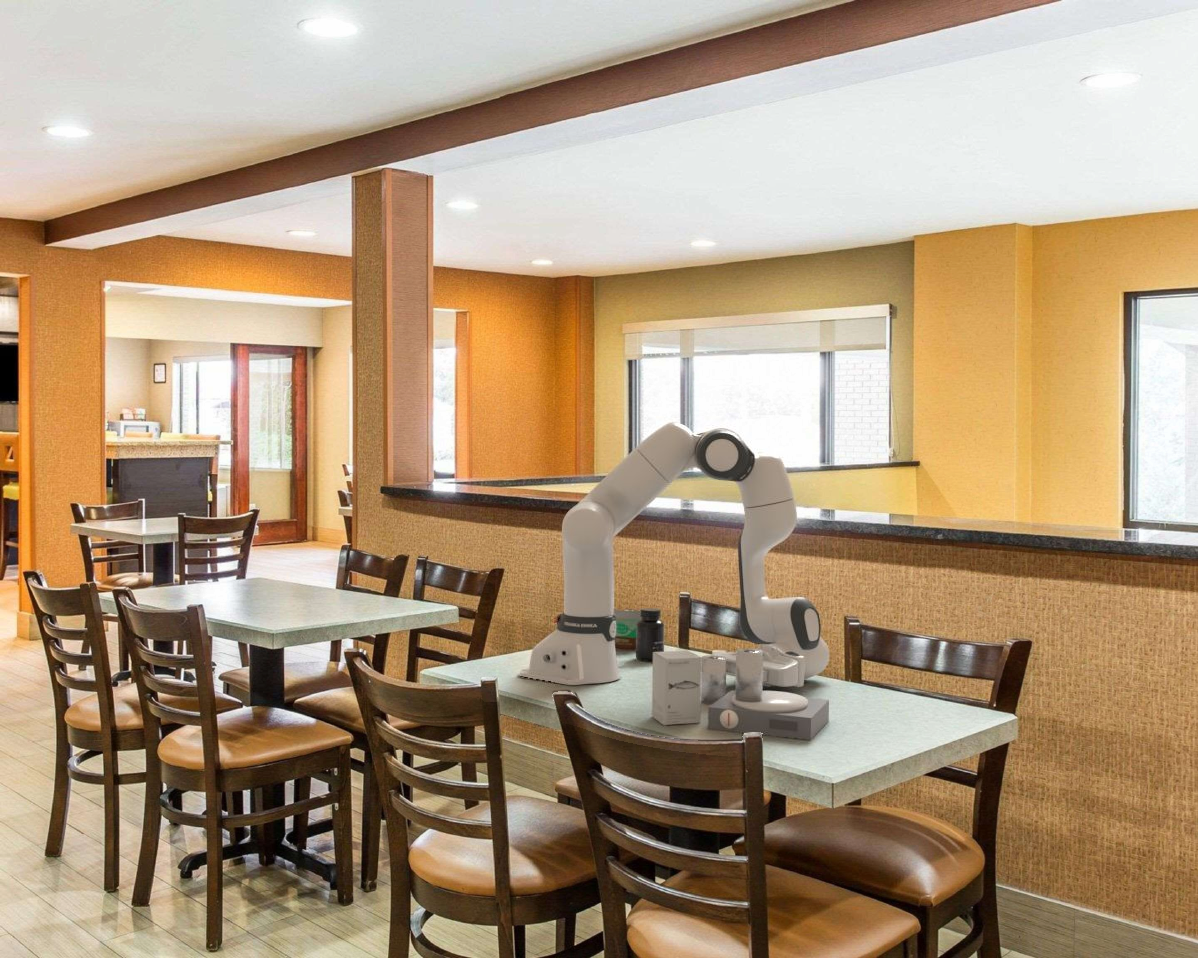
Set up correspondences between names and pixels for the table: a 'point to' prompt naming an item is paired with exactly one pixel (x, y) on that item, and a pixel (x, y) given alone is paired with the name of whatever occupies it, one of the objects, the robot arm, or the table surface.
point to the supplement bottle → (649, 634)
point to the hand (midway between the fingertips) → (728, 673)
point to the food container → (626, 629)
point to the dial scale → (770, 715)
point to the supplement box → (676, 687)
